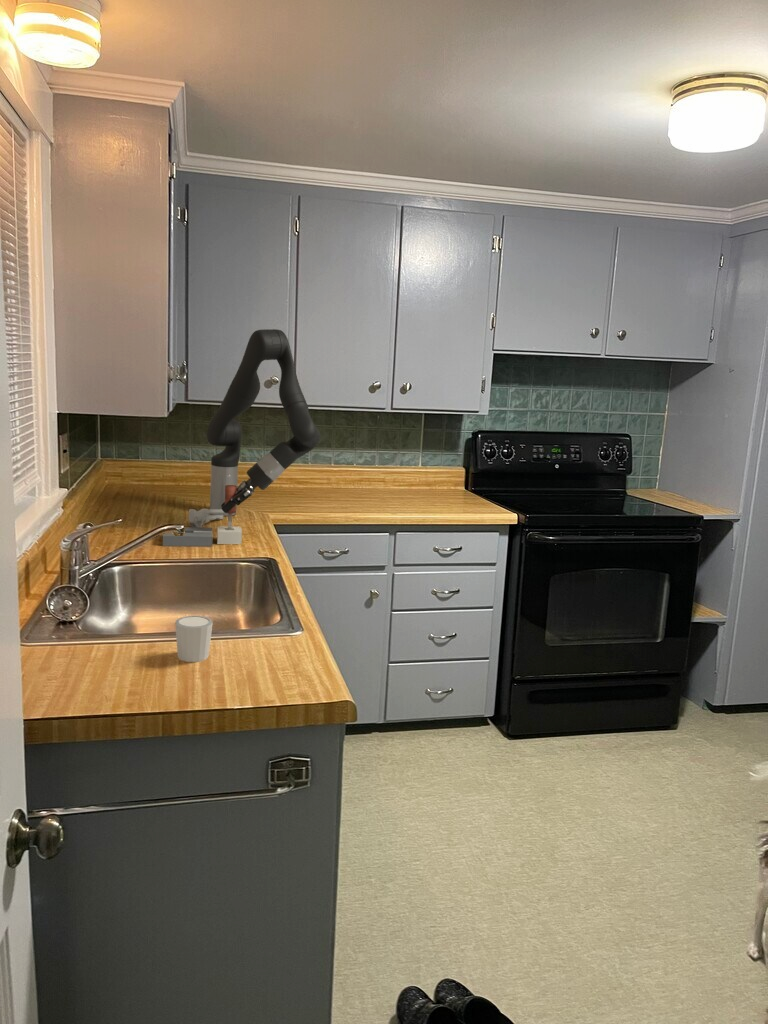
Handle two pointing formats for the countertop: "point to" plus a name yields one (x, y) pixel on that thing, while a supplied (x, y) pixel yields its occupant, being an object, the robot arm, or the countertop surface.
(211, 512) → the gun
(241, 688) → the countertop surface
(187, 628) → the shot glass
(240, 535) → the block
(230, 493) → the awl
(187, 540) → the grey flat block
